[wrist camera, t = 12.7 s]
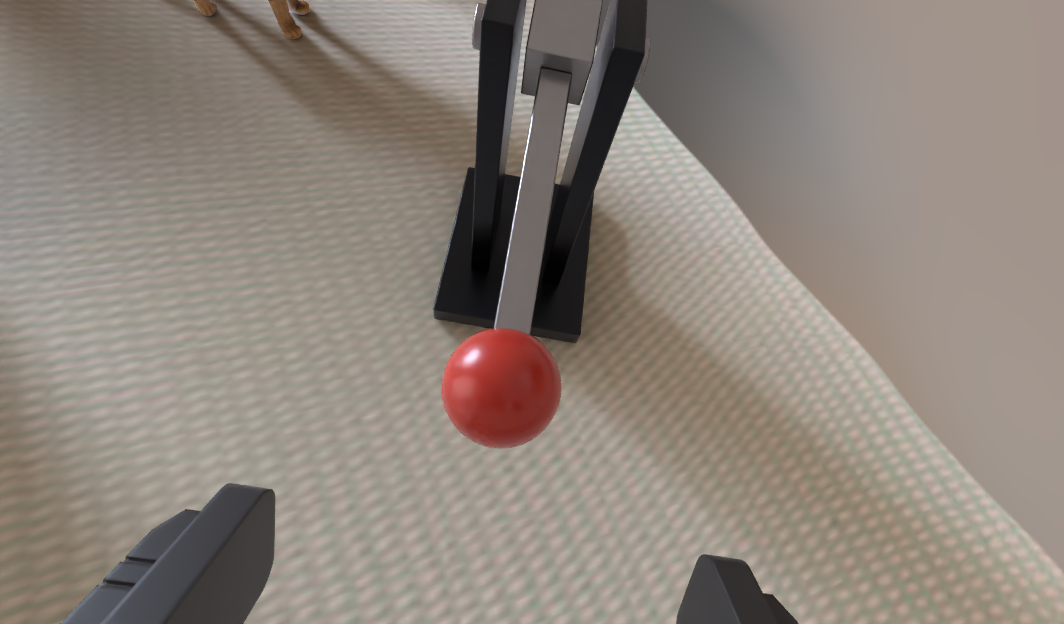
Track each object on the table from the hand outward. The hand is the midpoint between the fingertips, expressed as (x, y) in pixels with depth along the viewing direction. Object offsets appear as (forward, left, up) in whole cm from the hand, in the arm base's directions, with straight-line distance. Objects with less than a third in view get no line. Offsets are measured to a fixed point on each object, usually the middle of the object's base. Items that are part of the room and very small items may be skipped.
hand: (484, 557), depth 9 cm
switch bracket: (-12, +11, -15) cm, 22 cm away
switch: (-8, +8, -4) cm, 12 cm away
